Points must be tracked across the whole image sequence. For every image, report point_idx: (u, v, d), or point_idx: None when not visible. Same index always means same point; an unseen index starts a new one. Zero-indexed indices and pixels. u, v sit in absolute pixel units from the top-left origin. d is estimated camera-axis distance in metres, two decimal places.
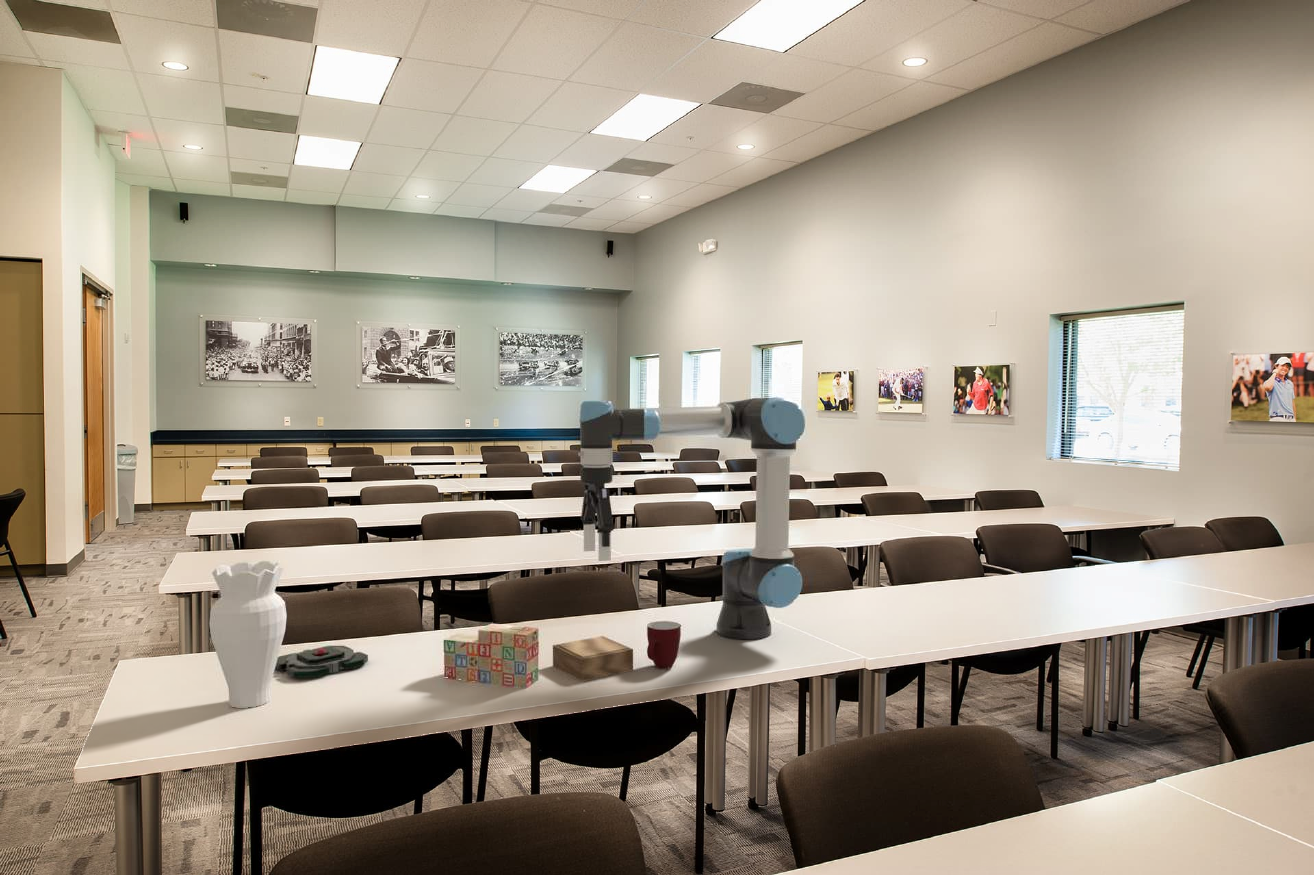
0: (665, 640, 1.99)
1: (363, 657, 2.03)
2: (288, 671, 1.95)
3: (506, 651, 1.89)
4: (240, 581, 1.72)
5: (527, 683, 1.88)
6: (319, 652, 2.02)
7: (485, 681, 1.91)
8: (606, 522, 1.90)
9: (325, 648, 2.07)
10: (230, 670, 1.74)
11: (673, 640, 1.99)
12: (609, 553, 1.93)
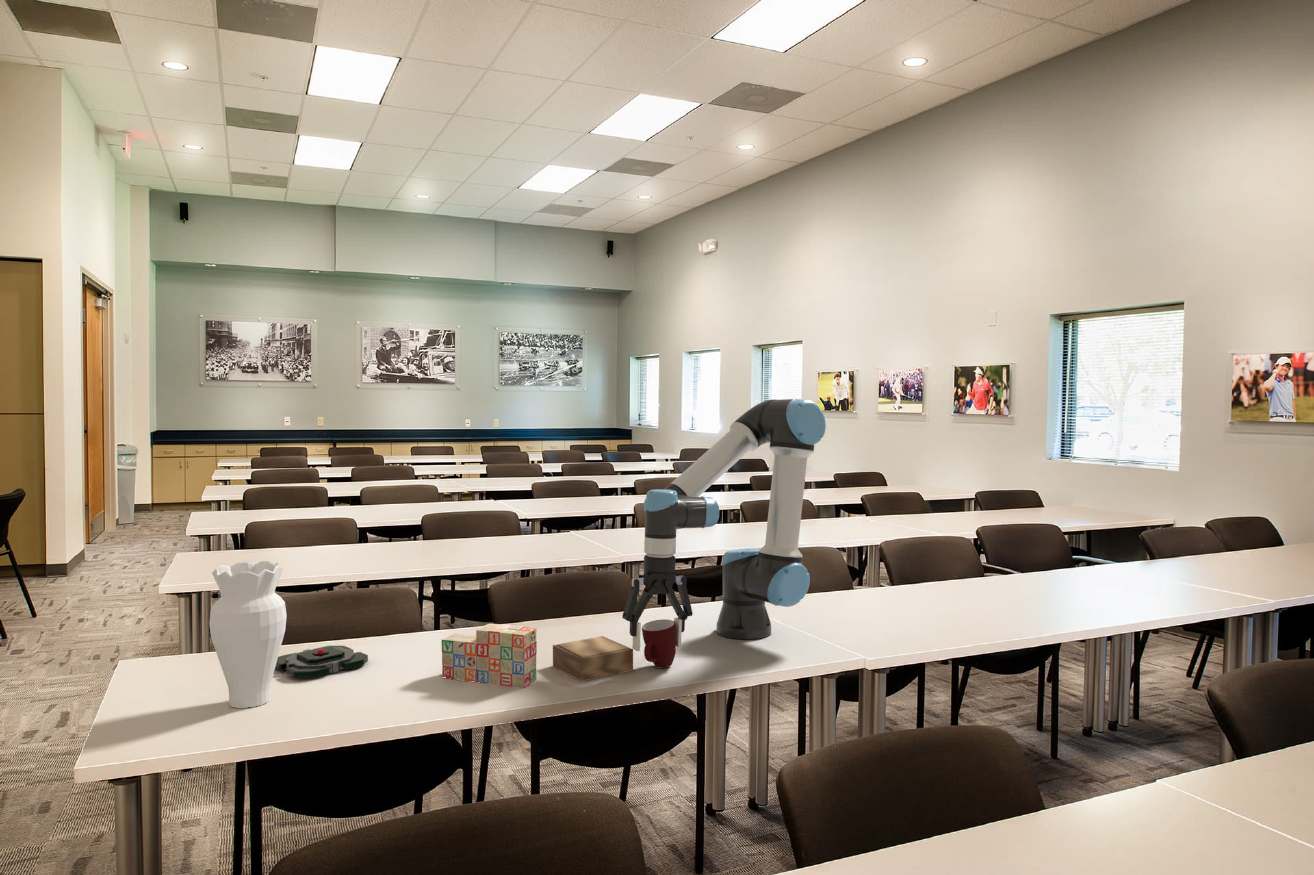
0: (661, 640, 1.98)
1: (363, 657, 2.03)
2: (288, 671, 1.95)
3: (504, 651, 1.89)
4: (240, 581, 1.72)
5: (525, 683, 1.88)
6: (319, 652, 2.02)
7: (483, 681, 1.91)
8: (625, 612, 1.98)
9: (325, 648, 2.07)
10: (230, 670, 1.74)
11: (669, 639, 1.99)
12: (636, 644, 1.98)
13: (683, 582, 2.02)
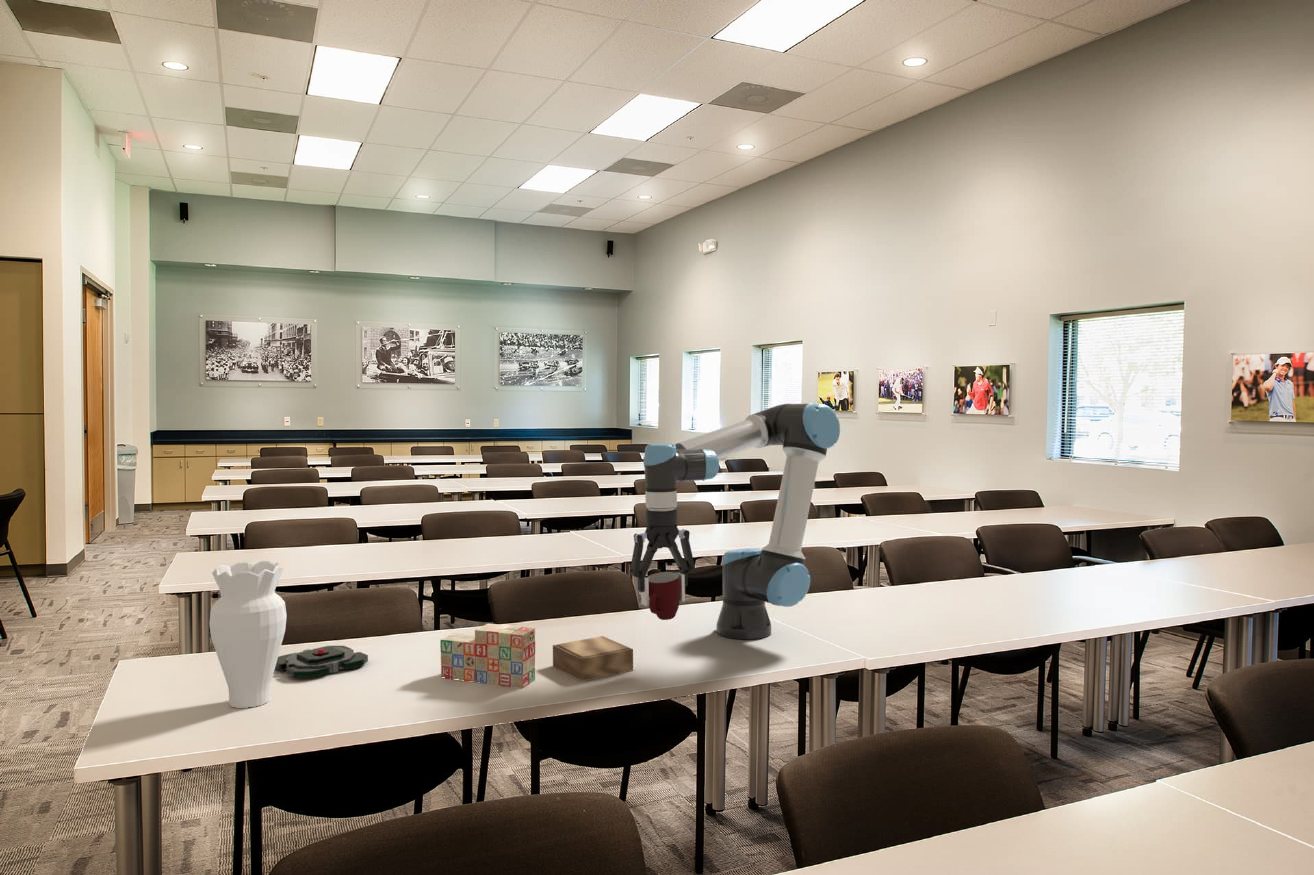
0: (666, 593, 1.98)
1: (363, 657, 2.03)
2: (288, 671, 1.95)
3: (502, 651, 1.89)
4: (240, 581, 1.72)
5: (523, 683, 1.88)
6: (319, 652, 2.02)
7: (482, 681, 1.91)
8: (632, 568, 1.98)
9: (325, 648, 2.07)
10: (230, 670, 1.74)
11: (674, 591, 1.99)
12: (645, 599, 1.98)
13: (686, 536, 2.02)
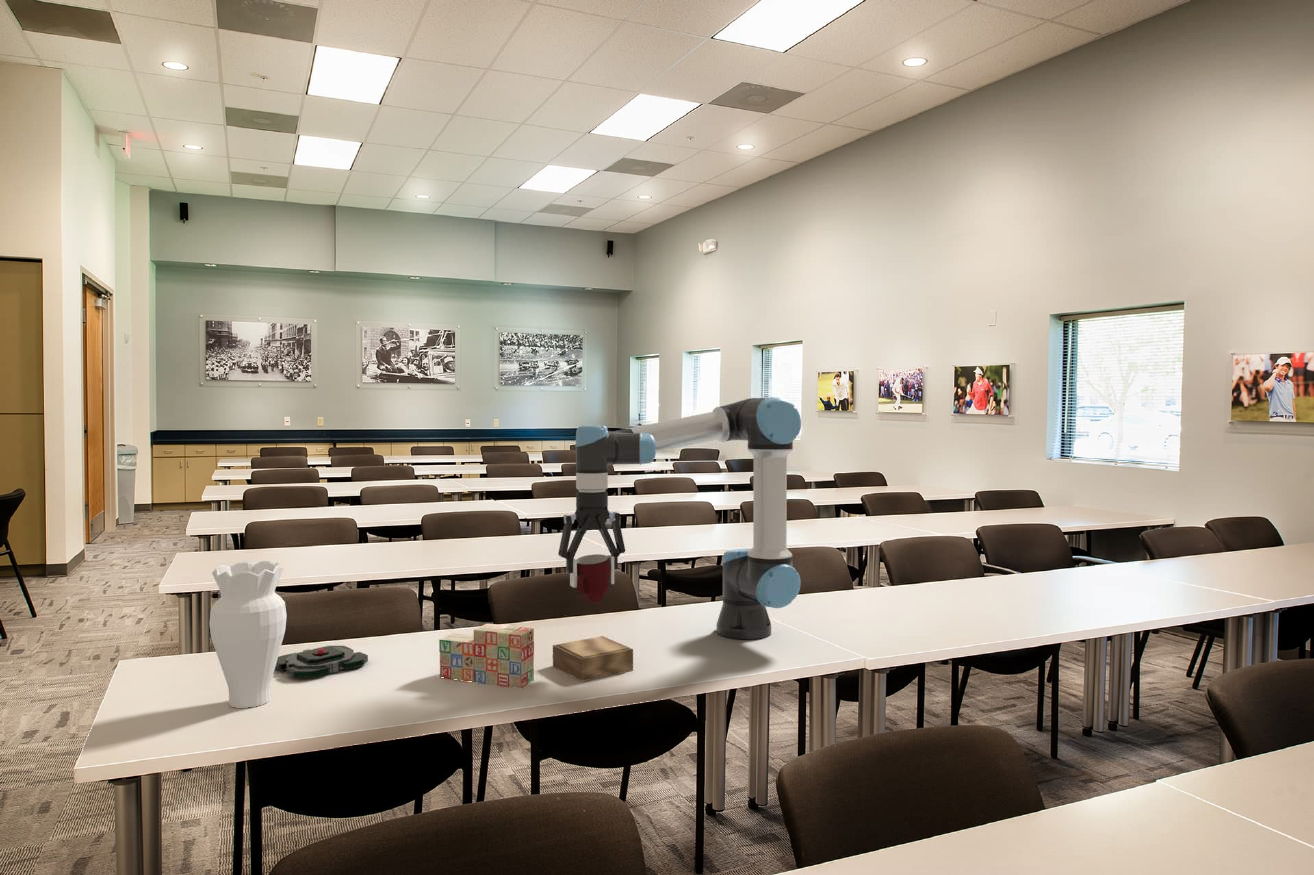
0: (594, 574, 1.98)
1: (363, 657, 2.03)
2: (288, 671, 1.95)
3: (501, 651, 1.89)
4: (240, 581, 1.72)
5: (522, 683, 1.88)
6: (319, 652, 2.02)
7: (480, 681, 1.91)
8: (560, 549, 1.98)
9: (325, 648, 2.07)
10: (230, 670, 1.74)
11: (602, 573, 1.98)
12: (573, 580, 1.98)
13: (616, 518, 2.02)
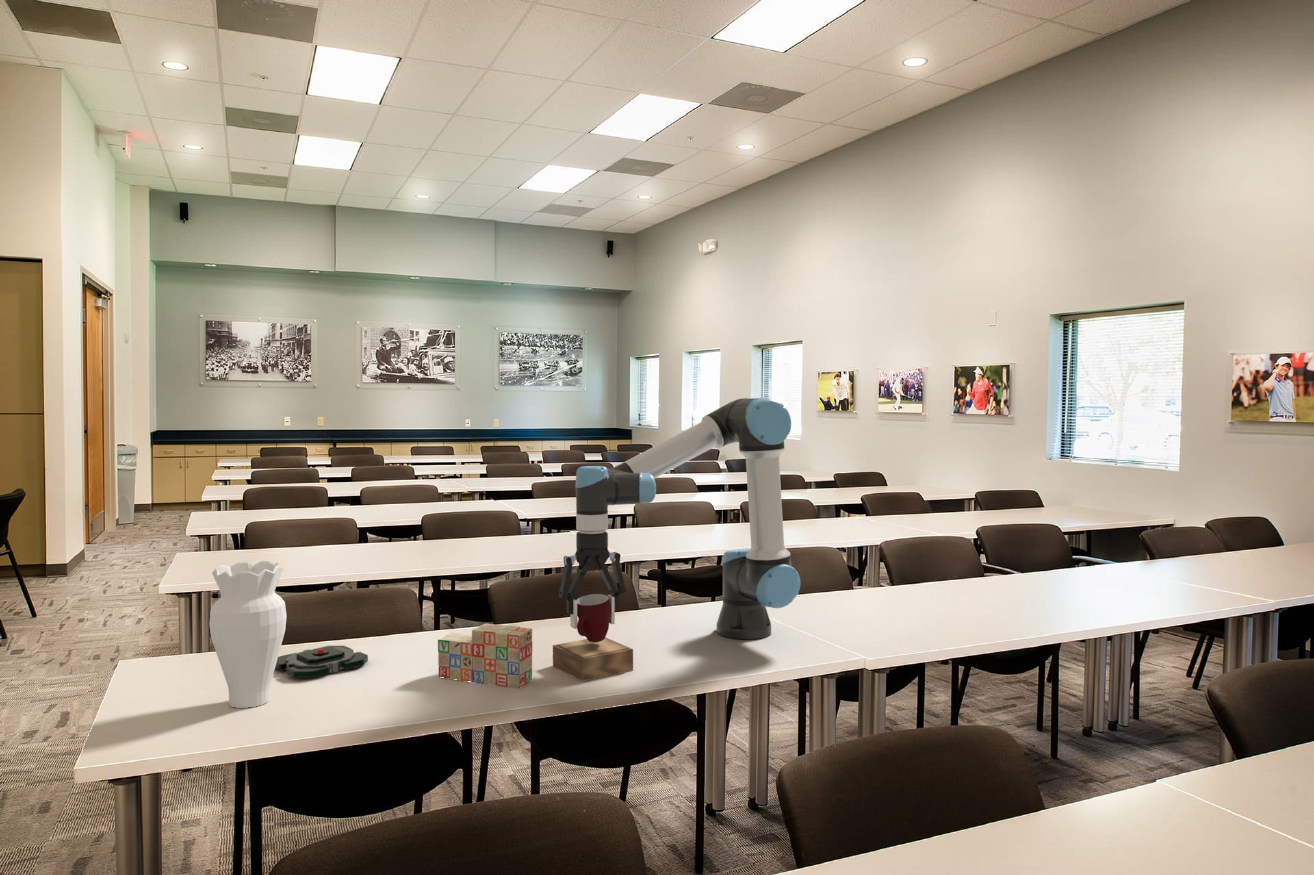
0: (594, 615, 1.98)
1: (363, 657, 2.03)
2: (288, 671, 1.95)
3: (499, 651, 1.89)
4: (240, 581, 1.72)
5: (520, 683, 1.88)
6: (319, 652, 2.02)
7: (479, 681, 1.91)
8: (560, 590, 1.98)
9: (325, 648, 2.07)
10: (230, 670, 1.74)
11: (602, 614, 1.99)
12: (573, 621, 1.98)
13: (617, 558, 2.02)
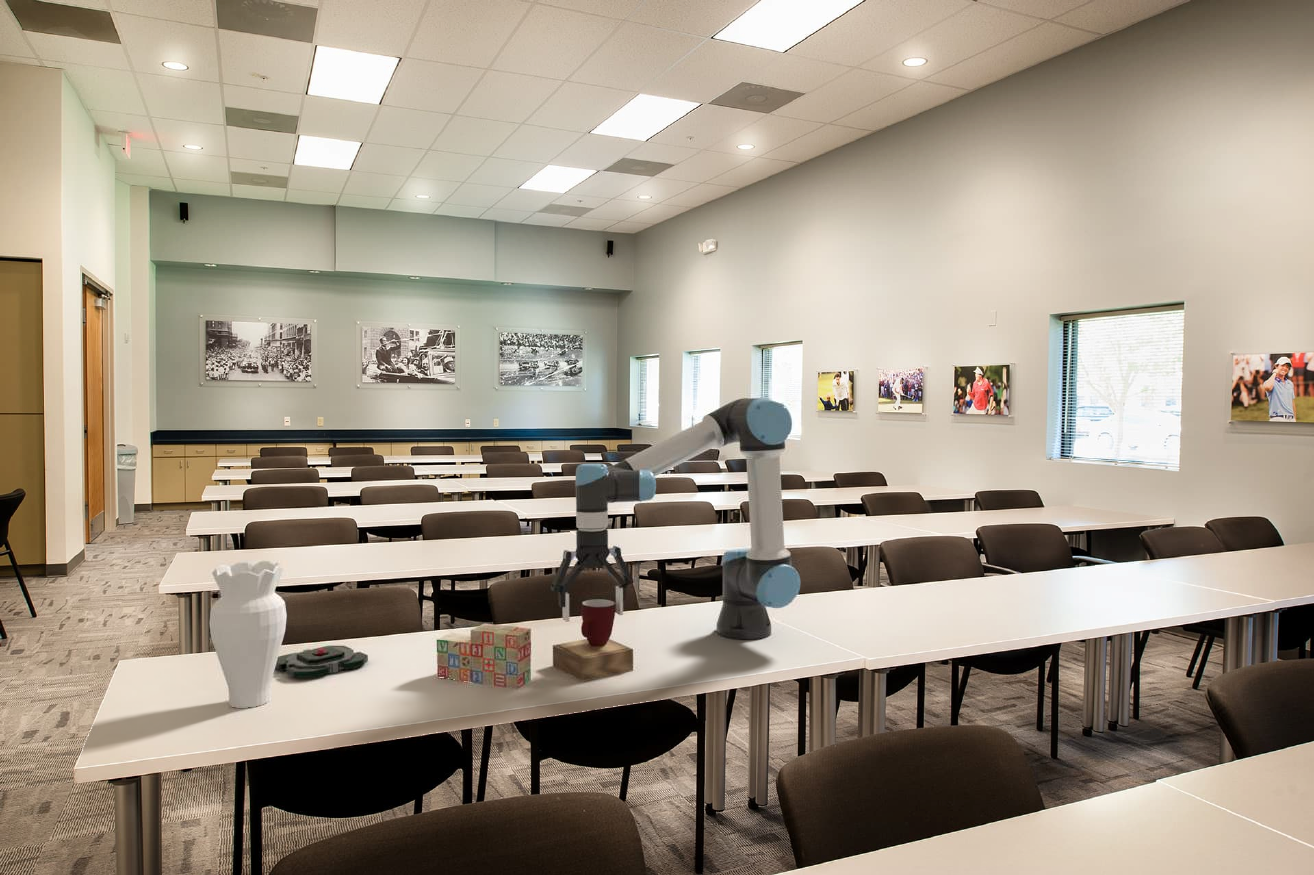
0: (599, 617, 1.99)
1: (363, 657, 2.03)
2: (288, 671, 1.95)
3: (498, 651, 1.89)
4: (240, 581, 1.72)
5: (518, 683, 1.88)
6: (319, 652, 2.02)
7: (477, 681, 1.91)
8: (553, 583, 1.97)
9: (325, 648, 2.07)
10: (230, 670, 1.74)
11: (607, 618, 2.00)
12: (565, 614, 1.97)
13: (617, 553, 2.02)
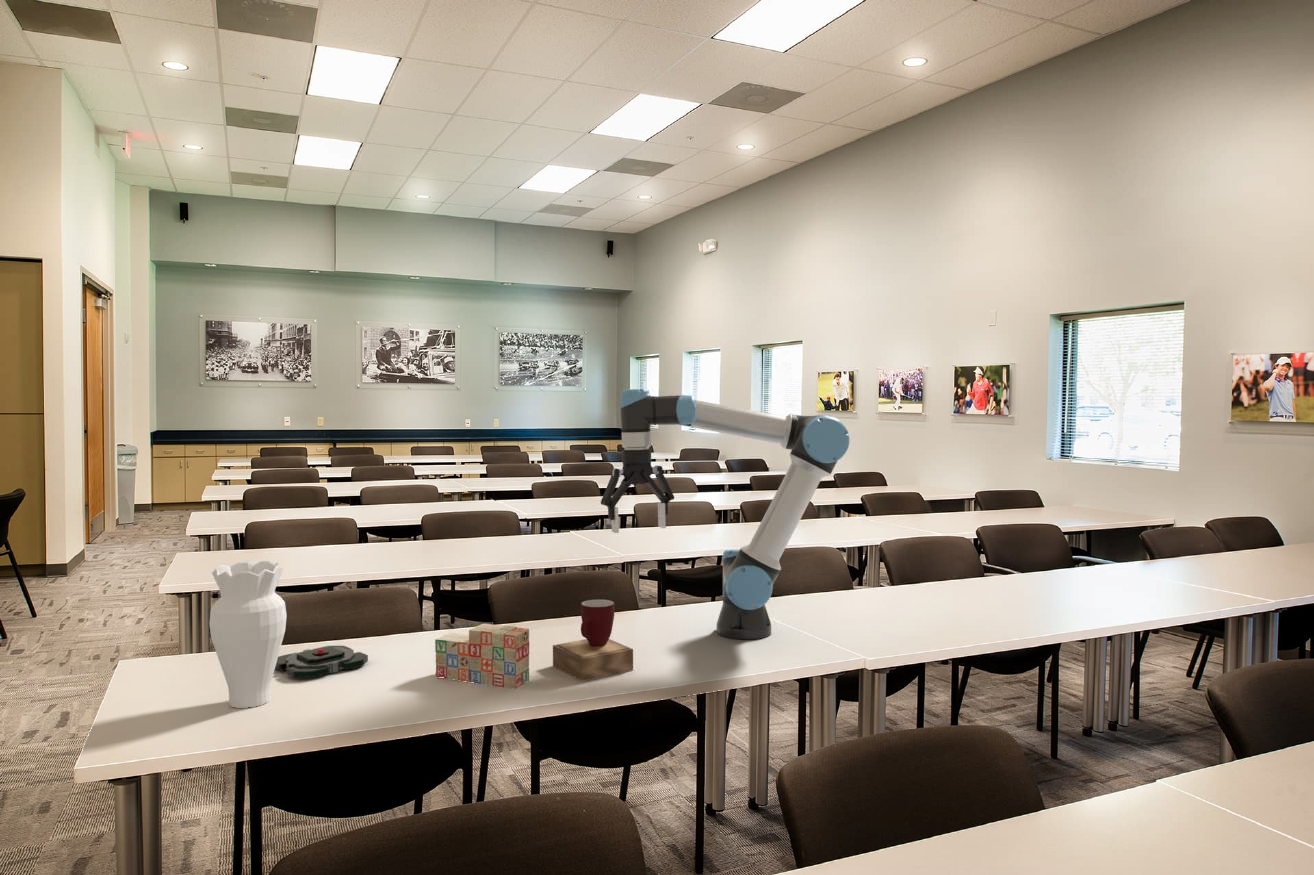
0: (599, 617, 1.99)
1: (363, 657, 2.03)
2: (288, 671, 1.95)
3: (496, 651, 1.88)
4: (240, 581, 1.72)
5: (517, 684, 1.88)
6: (319, 652, 2.02)
7: (475, 681, 1.91)
8: (603, 497, 2.15)
9: (325, 648, 2.07)
10: (230, 670, 1.74)
11: (607, 617, 2.00)
12: (615, 526, 2.15)
13: (660, 471, 2.21)
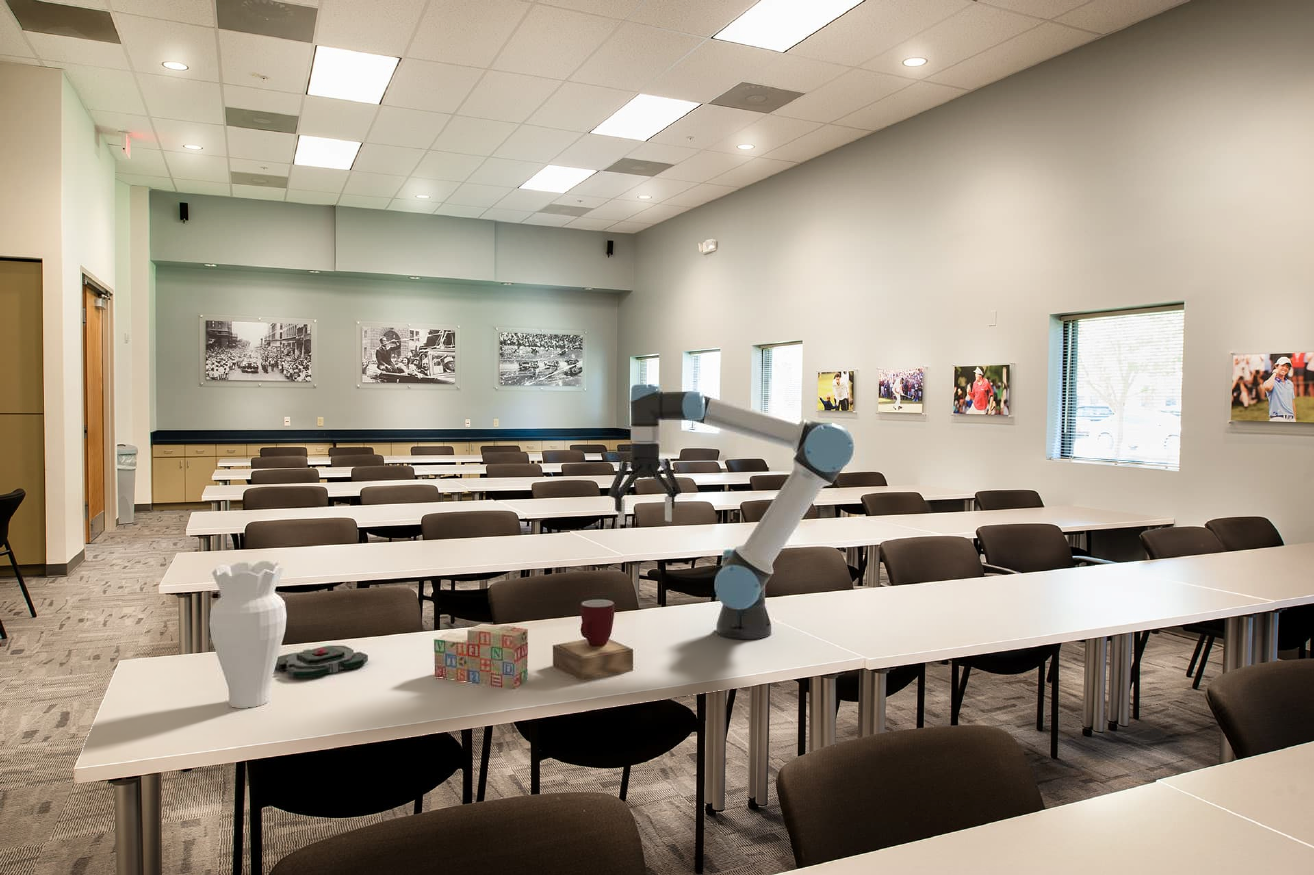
0: (599, 618, 1.99)
1: (363, 657, 2.03)
2: (288, 671, 1.95)
3: (494, 651, 1.88)
4: (240, 581, 1.72)
5: (515, 684, 1.88)
6: (319, 652, 2.02)
7: (474, 681, 1.91)
8: (611, 489, 2.20)
9: (325, 648, 2.07)
10: (230, 670, 1.74)
11: (607, 617, 2.00)
12: (621, 518, 2.20)
13: (667, 465, 2.25)
